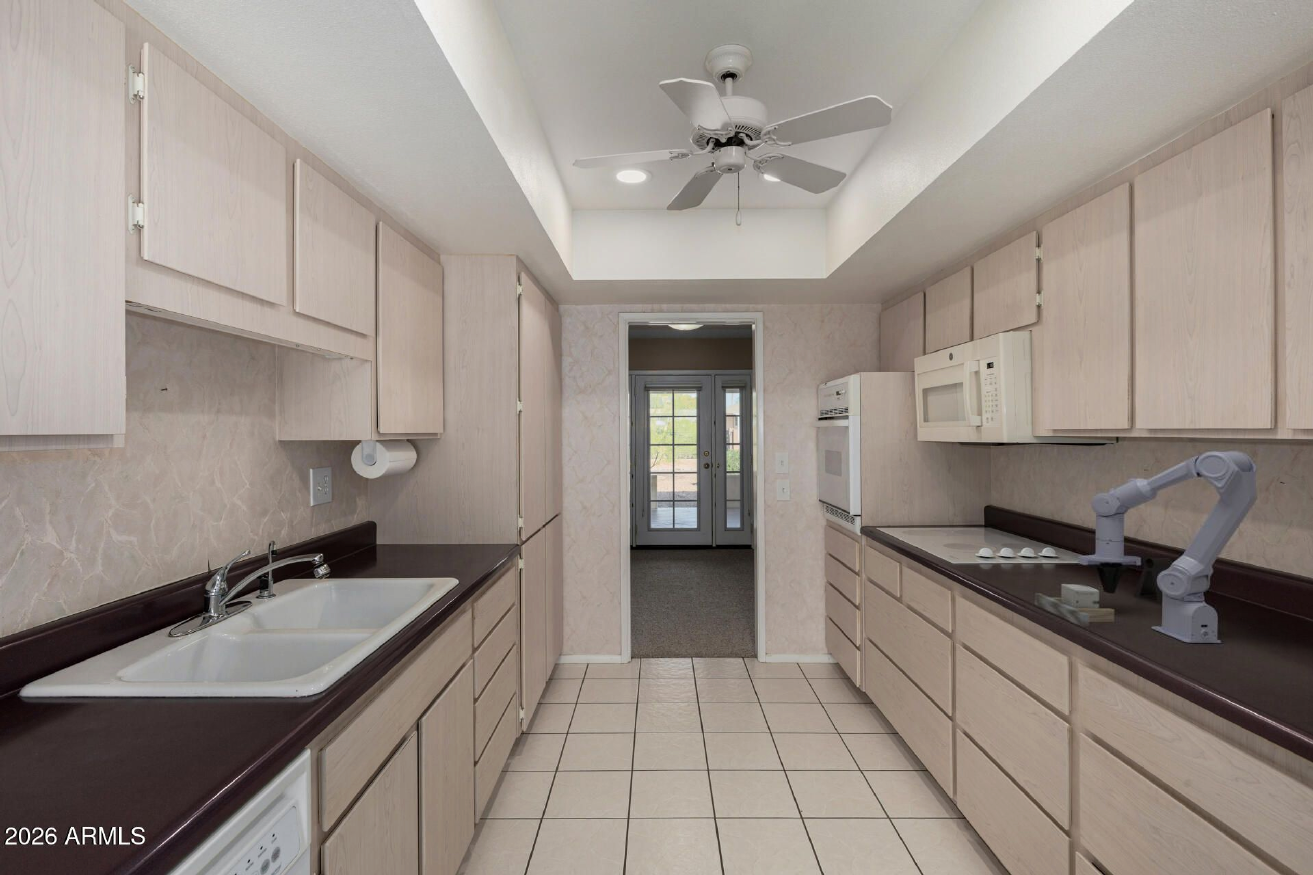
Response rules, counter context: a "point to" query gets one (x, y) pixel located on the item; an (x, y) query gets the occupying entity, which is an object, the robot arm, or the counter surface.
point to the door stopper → (1152, 579)
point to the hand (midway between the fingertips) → (1109, 592)
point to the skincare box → (1079, 596)
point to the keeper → (1074, 611)
